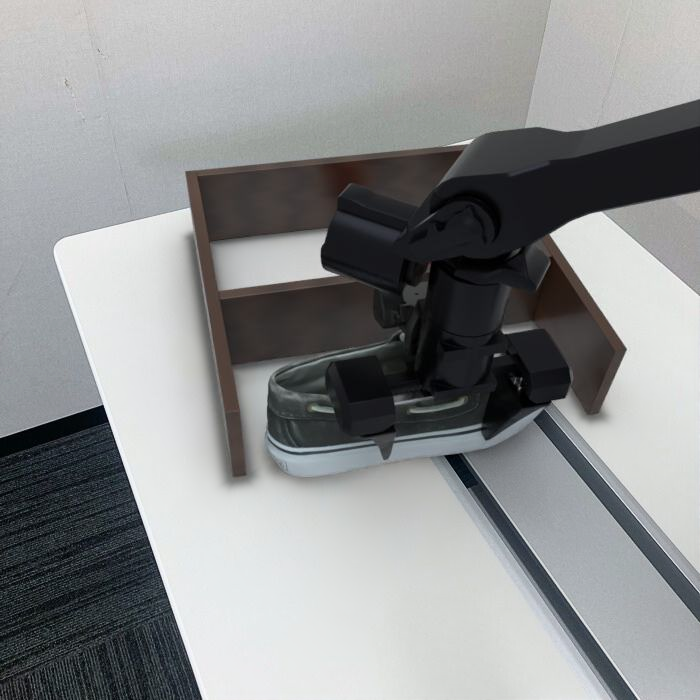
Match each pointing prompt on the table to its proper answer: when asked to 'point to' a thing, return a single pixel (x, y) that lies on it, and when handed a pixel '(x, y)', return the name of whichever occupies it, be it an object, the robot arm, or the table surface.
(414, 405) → the boat shoe
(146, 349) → the table surface
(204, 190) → the shoe rack
